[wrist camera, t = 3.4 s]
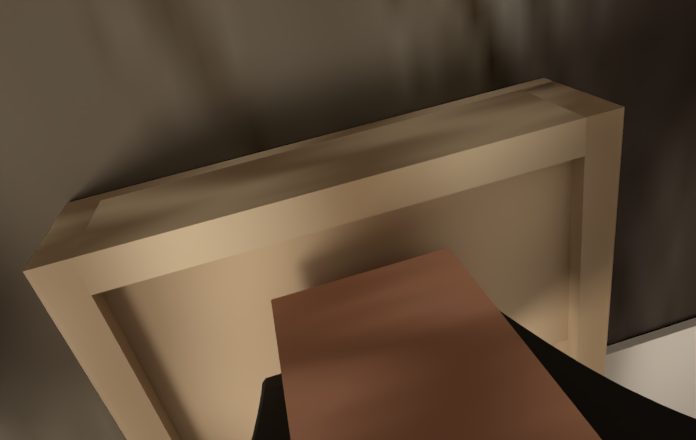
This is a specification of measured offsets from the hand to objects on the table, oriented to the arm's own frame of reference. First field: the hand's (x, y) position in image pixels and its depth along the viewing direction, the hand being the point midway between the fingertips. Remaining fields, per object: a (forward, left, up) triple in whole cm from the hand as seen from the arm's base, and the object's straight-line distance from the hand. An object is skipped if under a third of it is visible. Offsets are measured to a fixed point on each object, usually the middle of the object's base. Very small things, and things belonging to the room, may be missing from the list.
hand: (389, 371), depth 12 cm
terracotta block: (0, 0, -1) cm, 1 cm away
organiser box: (0, -3, -5) cm, 6 cm away
